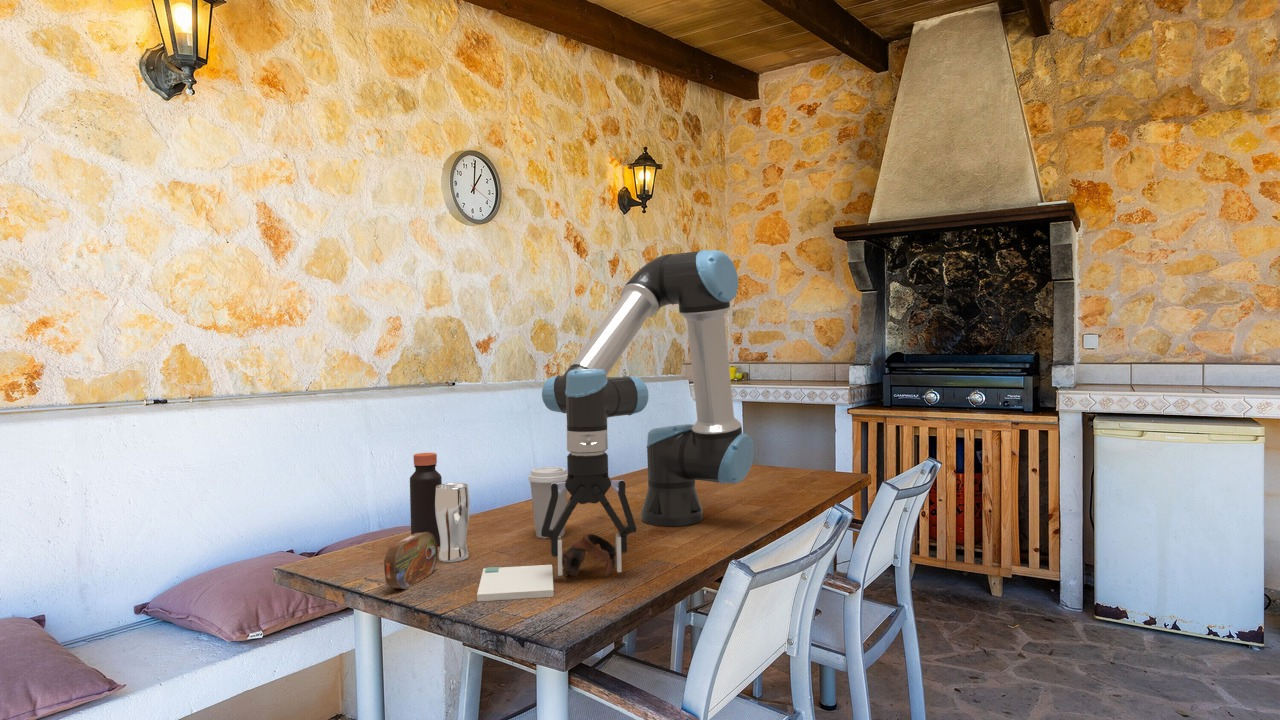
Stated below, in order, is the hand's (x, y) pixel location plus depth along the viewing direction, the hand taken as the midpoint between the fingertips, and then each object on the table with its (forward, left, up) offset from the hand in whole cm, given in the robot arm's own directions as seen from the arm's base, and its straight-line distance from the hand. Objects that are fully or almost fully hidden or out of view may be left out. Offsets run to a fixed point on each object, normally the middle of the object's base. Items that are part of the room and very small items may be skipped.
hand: (589, 571), depth 139 cm
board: (+13, +1, -1) cm, 13 cm away
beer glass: (+27, -19, -2) cm, 33 cm away
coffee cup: (+7, -34, -2) cm, 35 cm away
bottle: (+34, -31, -2) cm, 46 cm away
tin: (+33, -5, -2) cm, 33 cm away
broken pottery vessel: (+1, -2, -1) cm, 3 cm away
